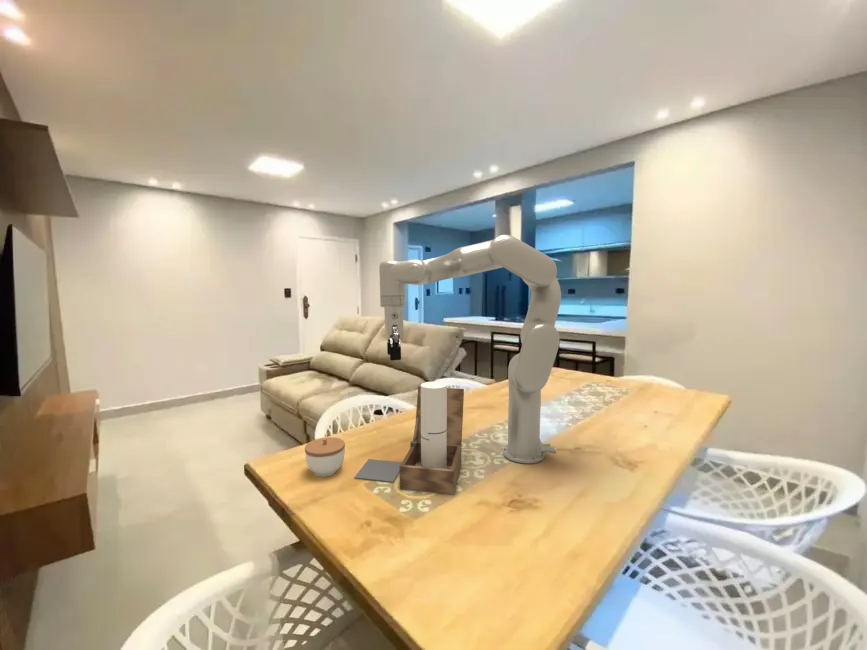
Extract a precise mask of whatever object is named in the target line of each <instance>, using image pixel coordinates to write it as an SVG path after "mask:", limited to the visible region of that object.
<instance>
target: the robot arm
mask: <svg viewBox="0 0 867 650" xmlns="http://www.w3.org/2000/svg"><path fill="white" fill-rule="evenodd" d="M378 268H379V270H378V271H379V272H378V273H379V296H380V297H379V298H380V299H379V301H380V302H379V305H380V308H383V309H384V329H385V336H386V338H387V343H386V346H387V347H386V348H387V349H386V350H387V355H388V356H389V359H390V361H401V360H402V346H401V340H404V339H405V329H404V314H403V307H406V296H405V294H406V293H405V292H406V291H405V288H406V287H405V285H412V286H413V285H414V286H422V285H427V284H432V283H436V282H441V281H445V280H448V279H454V278H463V277H467V276H471V275H477V274H478V273H479V274H480V273H484V272H488V271H493V270H497V269H502V268H504V269H506V270H507V271H509V272H510V273H513V274H514V275H516V276H518V277H520V278H521V279H522V281H523V282H524V284H526V285H527V286H528V288H529V290H530V302H529V306H528V310H527V313H526V316H525V318H524V322H523V325H522V327H521V330H520V342H521V343H522V344H521V348H520V351H519V353H517V354H515V355H513V357H512V358H511V359H510V361H509V364H508V367H507V377H508V405H507V406H508V407H507V408H508V409H507V412H508V414H507V415H508V416H507V444H506V445H504V446H503V448H502V455H503V456H504V457H505V458H506V459H508V460H510V461H512V462H515V463H519V464H528V465H529V464H536V463H540V462H542V461H543V460H544V459H545V454H546V453H550V454H556V451H557V450H556V446H553V445H551V443H548V442H547V443H545V442H544V443H543V442H542V441H541V410H542V409H541V406H542V389H544V387H545V386H546V384H547V383H548V381H549V378H550V375H551V373H552V369H553V367H554V364H555V360H556V357H557V353H558V350H559V347H560V333H559V331H558V329H557V328H556V327H555V326H556V322H557V317H558V314H559V310H560V307H561V302H562V291H561V290H562V289H561V286H560V282H559V280H558V278H557V274H558V268H557V264H556V262H555V261H554V260H553V259H552V258H551V257H550V256H548V255H547V254H545V253H544V252H541V251H540V250H538V249H536V248H534V247H532V246H530V245H529V244H528V243H526V242H523V240H520V239H518V238H517V237H515V236H514V235H510V234H500V235H498V236H496V237H495V238H494V239H490V240H485V241H483V242H478V243H475V244H470V245H465V246H464V245H463V246H461V247H458V248H455V249H454V250H452V251H450V252H449V253H446V254H444V255H440V256H437V257H433V258H429V259H425V260H421V259H417V258H415V259H408V260H401V261H399V260H384V261H381V262H380V264H379V266H378Z"/></svg>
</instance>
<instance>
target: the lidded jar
mask: <svg viewBox="0 0 867 650" xmlns="http://www.w3.org/2000/svg"><path fill="white" fill-rule="evenodd" d="M345 446H346V443H345V441H344V440H343V439H341V438H338V437H332V436H330V437H321V438H316V439H313V440H311V441H309V442H308V443H306V445H305V447H304V452H305V462H306V465H307V467H308V469H309V470H310V471H311V472H312V473H313V474H314V475H315V476H317V477H321V478H322V477H329V476H332V475H334V474H336V472H337V471H338V470H339V469H340V468H341V466H342V464H343V462H344V459H345Z"/></svg>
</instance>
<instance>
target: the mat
mask: <svg viewBox="0 0 867 650" xmlns="http://www.w3.org/2000/svg"><path fill="white" fill-rule="evenodd" d="M401 463H402V461H395V460H394V461H393V460H384V459H375V458H374V459H372V458H368V459H367V461H365V463H364V464H363V466H362V467H361V468H360V469H359V471H358V472H357V473H356V474H355V476H354V477H353V479H354V480H362V481H363V480H364V481H372V482H382V483H392V484H393V483H394V482H395V481H396V479H397V477H398V475H400V469H399V466H400V465H401Z"/></svg>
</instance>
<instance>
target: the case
mask: <svg viewBox="0 0 867 650" xmlns="http://www.w3.org/2000/svg"><path fill="white" fill-rule="evenodd" d="M464 397H465V389H464V388H453V387H447V466H451V467H450V468H447V469H442V468H432V467H421V465H418V466H417V464H418V463H420V464H421V386H418V387H417V400H416V411H415V412H416V413H415V425H414V432H413V439H412V440H411V441H410V444H409V445H410V447H409V450H408V451H407V453H406V455H405V456H404V458H403V460H402V461H401V462H402V463H401V465H400V466H399V469H400V472H399V489H400V490H406V491H407V490H409V491H417V492H428V493H437V494H444V495H445V494H446V495H455V493H456V492H455V491H456V489H457V488H456V487H457V484H458V483H457V482H458V480H459V475H460V471H461V468H462V445H463V442H462V441H463V440H462V439H463V422H464V421H463V420H464V419H463V418H464V401H465V399H464Z"/></svg>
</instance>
